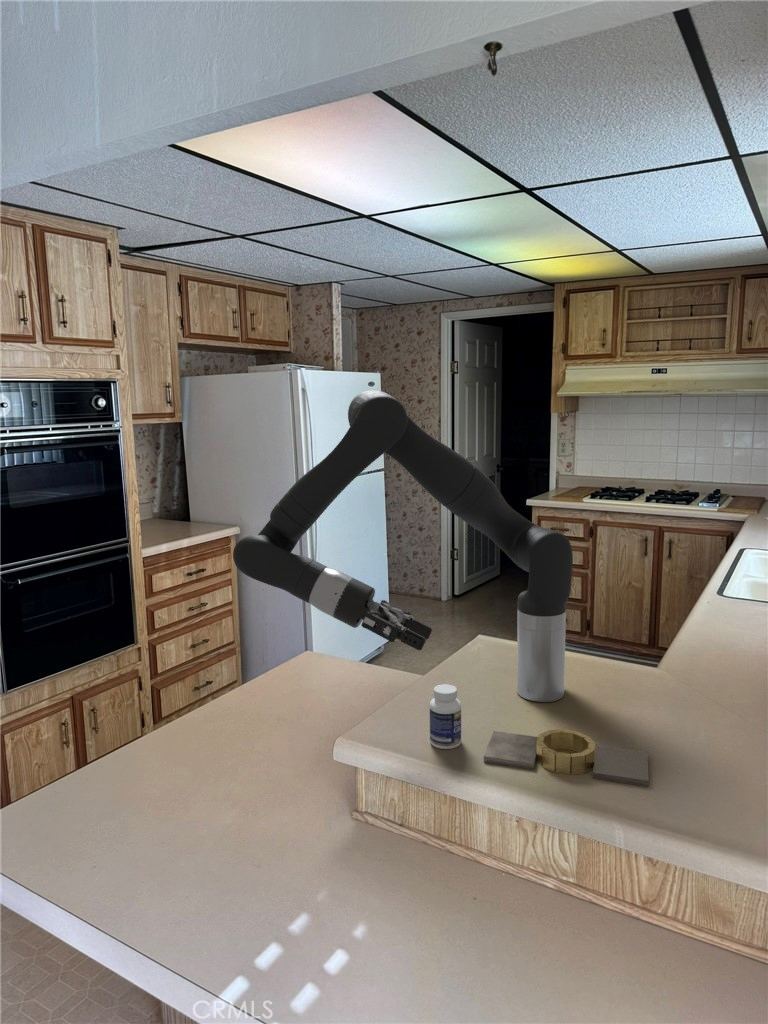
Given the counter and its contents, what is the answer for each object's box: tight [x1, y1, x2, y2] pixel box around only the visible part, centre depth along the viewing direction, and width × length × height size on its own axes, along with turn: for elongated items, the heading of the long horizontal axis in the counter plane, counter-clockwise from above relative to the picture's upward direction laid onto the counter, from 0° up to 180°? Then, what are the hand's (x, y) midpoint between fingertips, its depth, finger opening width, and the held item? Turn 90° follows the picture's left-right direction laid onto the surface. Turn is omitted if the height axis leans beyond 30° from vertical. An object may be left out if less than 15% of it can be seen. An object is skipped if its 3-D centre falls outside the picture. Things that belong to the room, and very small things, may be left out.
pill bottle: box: [429, 683, 462, 750], centre depth 119 cm, size 5×5×10 cm
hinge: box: [483, 728, 650, 788], centre depth 112 cm, size 9×25×3 cm, turn 71°
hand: (427, 639), depth 116 cm, fingers open, 8 cm apart
